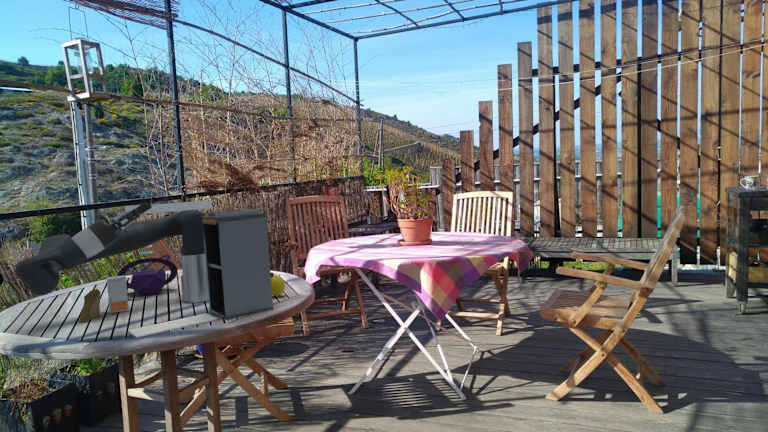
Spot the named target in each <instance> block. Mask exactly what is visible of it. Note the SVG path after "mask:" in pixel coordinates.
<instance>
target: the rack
mask: <svg viewBox="0 0 768 432" xmlns="http://www.w3.org/2000/svg"><path fill="white" fill-rule="evenodd" d="M267 223H268V222H267V213H266V212H261V210H260V208H255V209H252V208H243V209H241V208H240V209H235V210H234V209H231V210H222V211H213V212H212V211H211V212H207V213H206V215H205V216H202V225H203V236H204V248H205V260H206V271H207V283H208V295H209V300H208V301H209V302H208V305H209V312H210V313H211V314H213V315H217V316H219V317H220V318H223V319H225V320H230V319H235V318H240V317H244V316H248V315H253V314H256V313H257V314H258V313H261V312H266V311H270V310H274V302H273V301H274V300H273V294H272V287H271V274H270V272H271V262H270V252H269V237H268V224H267Z"/></svg>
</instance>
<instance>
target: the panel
mask: <svg viewBox="0 0 768 432" xmlns="http://www.w3.org/2000/svg"><path fill="white" fill-rule="evenodd" d="M212 202H213V201H212V200H210V199H209V200H199V201H184V202H183V201H181V202H169V203H155V204H154V203H152V204H151V203H150V204H151V206H152V207H151V208H150V209H149V210H147V211H146V212H144V213H142V214H141V215H151V214H163V213H179V212H181V211H192V210H198V211H203V210H212V209H213V205H212V204H213V203H212ZM139 206H140V204H139V205H127V206H124V210H125V212H130V211H132V210H133V209H134V208H137V207H139ZM131 215H134V214H133V213H131Z"/></svg>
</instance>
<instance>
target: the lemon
mask: <svg viewBox="0 0 768 432" xmlns="http://www.w3.org/2000/svg"><path fill="white" fill-rule="evenodd" d="M271 287H272V296H275V297H276V298H279V297H280V295H281V294H282V295H283V292H284V291H285V282H284V279H283V277H282V276H281V277H280V275H277V274H276V275H275V274H274V277H272V278H271Z"/></svg>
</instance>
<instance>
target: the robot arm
mask: <svg viewBox="0 0 768 432" xmlns="http://www.w3.org/2000/svg"><path fill="white" fill-rule="evenodd" d="M139 205H140V206H139V207H137V208H134V209H133V210H132V211H130V212H124V211H123V212H122V213H121V214H119V215H117V216H115V217H113V218H111V219H110V221H111V222H110V223H109V224H108V223H107V222H106V220H104V219H102V218H100V219H98V220H96V221H95V222H93V223H91V224H90V225H88V226H87V227H85V228H83V229H82V230H81V231H79V232H77V233H76V234H75V235H74V236H73V237H72V236H71V235H69V234H67V233H65V234H57V235H52V236H48V237H46V238H44V239H43V240H42V241H41V243H40V246H39V251H38V254H36V255H32V256H31V257H30V256H29V257H27V258H24V259H22V260H20V261H19V262H18V263H17V264H16V266H15V268H14V273H15V275H16V276H17V278H18V279H19V280H20V282H22V283H23V285H24V286H25V287H26V288H27V289H28V290H29V291H30V293H32V294H33V295H35V296H46V295H48V294H50V293H51V292H53V291H54V290H55V289H56V288H57V286H58V285H59V283H60V280H61V278H60V277H61V276H60V272H62V271H65V270H68V271H70V270H72V269H75V268H76V267H79V266H81V265H85V264H87V263H90V262H91V263H92V262H93V261H97V260H100V259H104V258H108V257H112V256H116V255H121V254H126V253H129V252H133V251H136V250H139V249H140V250H142V249H141V248H144V247H146V246H149V245H153V244H156V243H157V242H159V241H161V240H163V239H164V240H165V239H168V238H172V237H177V236H182V238H181V239H182V244H181V246H180V258H181V269H182V274H181V275H180V283H181V285H180V286H181V297H182V302H185V303H189V304H195V303H203V302H207V301H209V295H208V283H207V271H206V260H205V248H204V236H203V225H202V216H206V215H205V213H204V212H202V211H201V210H192V211H179V212H175V213H174V214H171V215H170V214H169V215H168V216H164V217H160V218H155V219H147V220H142V221H137V222H135V220H136V219H139V218H140V217H141V216H142V215H143V214H142V213H144V212H146V211H147V210H149V209H150V208H151V207H152V206H151V203H150V201H147V200H146V201H145V202H142V203H141V204H139ZM131 213H133V214H134V215H131Z"/></svg>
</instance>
